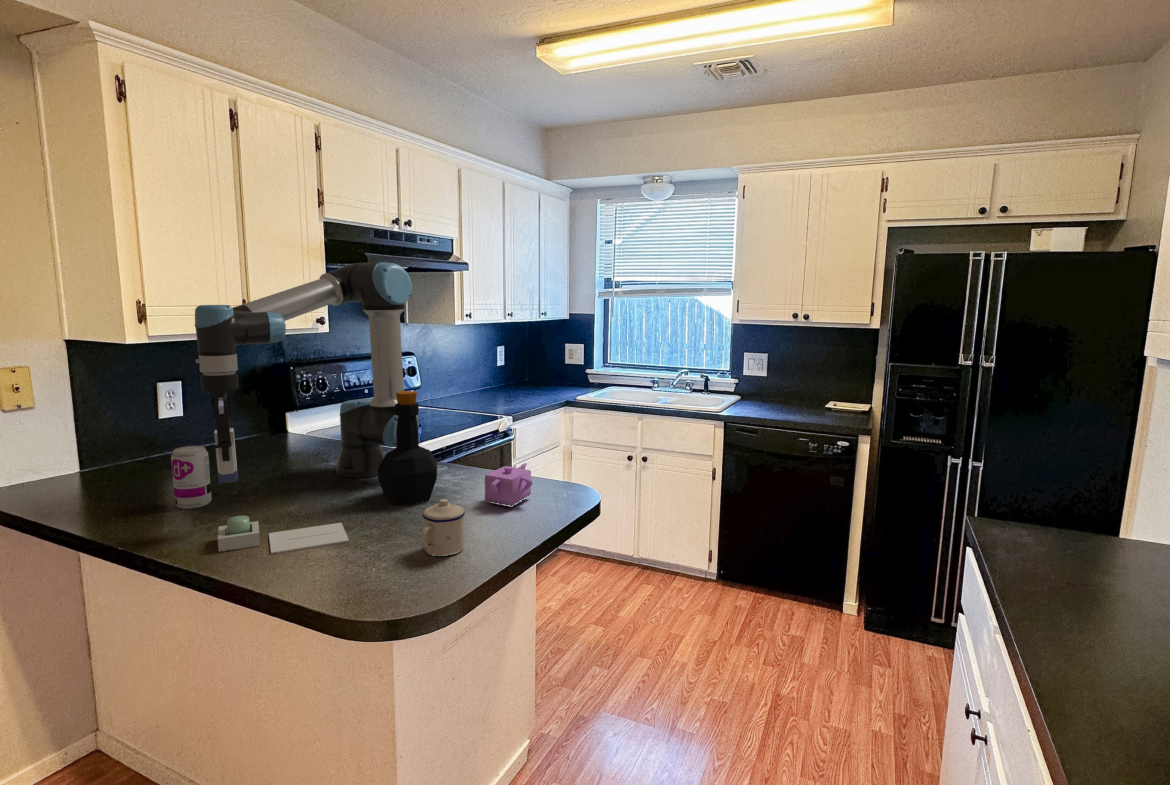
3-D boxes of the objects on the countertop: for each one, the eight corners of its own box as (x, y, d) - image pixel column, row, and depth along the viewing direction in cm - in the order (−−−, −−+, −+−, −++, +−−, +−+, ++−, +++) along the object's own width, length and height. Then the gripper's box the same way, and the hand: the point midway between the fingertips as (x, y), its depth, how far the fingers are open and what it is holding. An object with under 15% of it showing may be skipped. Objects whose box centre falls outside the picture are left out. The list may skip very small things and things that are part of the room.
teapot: (507, 489, 184) (507, 456, 182) (548, 496, 178) (549, 462, 176) (471, 507, 168) (471, 471, 166) (515, 516, 162) (516, 479, 160)
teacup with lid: (441, 538, 146) (440, 491, 145) (472, 546, 143) (472, 497, 141) (405, 557, 136) (404, 506, 134) (438, 566, 132) (438, 514, 130)
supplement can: (194, 511, 160) (190, 454, 157) (167, 508, 161) (162, 451, 159) (219, 500, 168) (215, 446, 165) (192, 498, 169) (188, 444, 167)
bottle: (446, 502, 171) (445, 394, 166) (385, 511, 163) (382, 398, 158) (429, 486, 185) (427, 386, 180) (372, 494, 176) (368, 389, 171)
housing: (259, 533, 147) (258, 521, 146) (260, 545, 140) (259, 532, 139) (219, 538, 143) (218, 526, 143) (218, 551, 136) (217, 538, 136)
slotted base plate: (341, 524, 154) (341, 522, 154) (348, 541, 143) (348, 539, 143) (268, 534, 146) (268, 533, 146) (271, 554, 136) (271, 552, 136)
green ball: (250, 530, 144) (249, 514, 144) (250, 536, 140) (249, 520, 140) (228, 533, 142) (227, 517, 141) (227, 540, 138) (226, 523, 138)
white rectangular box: (237, 476, 150) (233, 428, 148) (237, 481, 147) (233, 431, 145) (219, 478, 148) (215, 429, 146) (218, 483, 145) (214, 433, 143)
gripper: (201, 368, 148) (210, 463, 153) (197, 379, 134) (207, 483, 138) (237, 367, 152) (245, 459, 156) (237, 377, 138) (246, 479, 142)
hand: (227, 470), depth 147 cm, fingers closed on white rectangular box, 4 cm apart
